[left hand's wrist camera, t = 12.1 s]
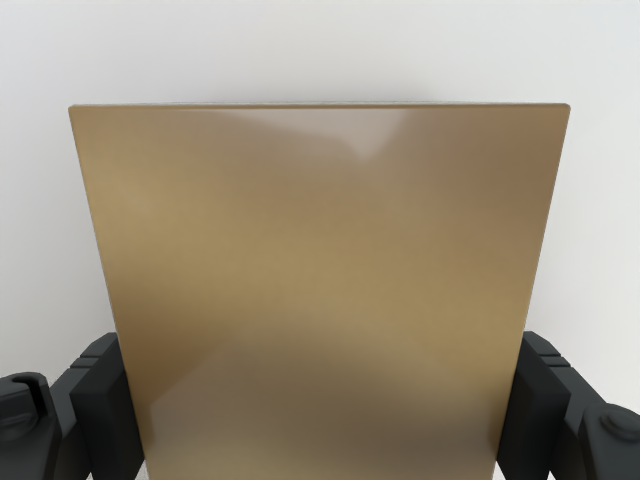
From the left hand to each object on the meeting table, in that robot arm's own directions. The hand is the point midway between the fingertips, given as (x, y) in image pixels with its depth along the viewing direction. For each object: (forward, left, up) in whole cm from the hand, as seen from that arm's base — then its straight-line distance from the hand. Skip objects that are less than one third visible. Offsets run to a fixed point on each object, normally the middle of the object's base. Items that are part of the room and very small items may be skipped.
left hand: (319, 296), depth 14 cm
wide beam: (-12, -22, -1) cm, 25 cm away
